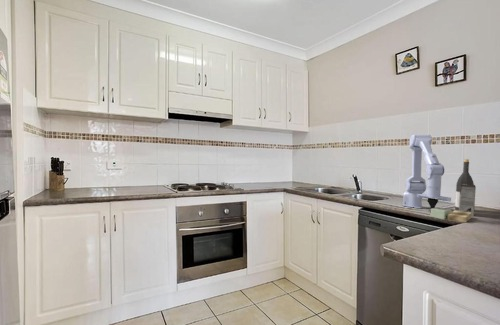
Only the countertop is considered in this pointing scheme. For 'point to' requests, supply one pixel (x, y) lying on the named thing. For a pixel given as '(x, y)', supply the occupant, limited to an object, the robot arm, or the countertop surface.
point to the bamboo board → (459, 216)
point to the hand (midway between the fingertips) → (432, 213)
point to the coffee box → (467, 198)
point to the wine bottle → (463, 181)
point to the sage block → (440, 213)
